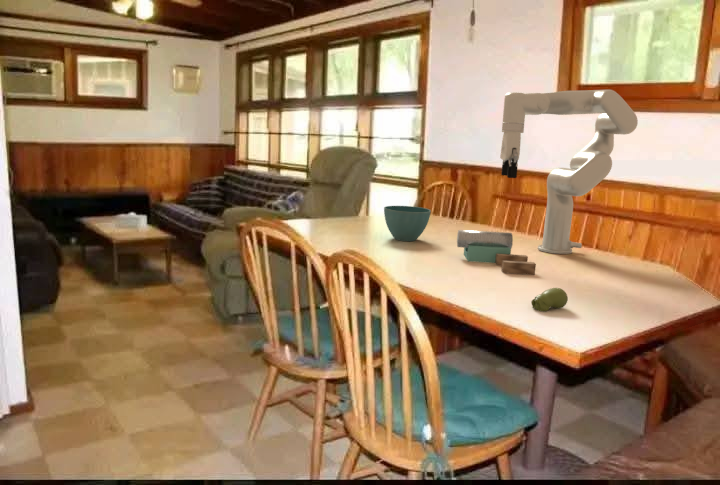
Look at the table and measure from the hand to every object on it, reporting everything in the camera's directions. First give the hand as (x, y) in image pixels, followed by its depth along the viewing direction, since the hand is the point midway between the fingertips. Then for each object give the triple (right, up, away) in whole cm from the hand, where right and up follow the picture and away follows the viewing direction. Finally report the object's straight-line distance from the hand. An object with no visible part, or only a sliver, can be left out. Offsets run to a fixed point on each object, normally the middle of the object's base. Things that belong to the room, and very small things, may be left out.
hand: (508, 176), depth 213 cm
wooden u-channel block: (-3, -32, -21) cm, 39 cm away
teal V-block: (-10, -30, -8) cm, 32 cm away
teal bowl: (-36, -23, +20) cm, 47 cm away
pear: (-6, -41, -62) cm, 75 cm away
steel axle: (-11, -23, -9) cm, 27 cm away
